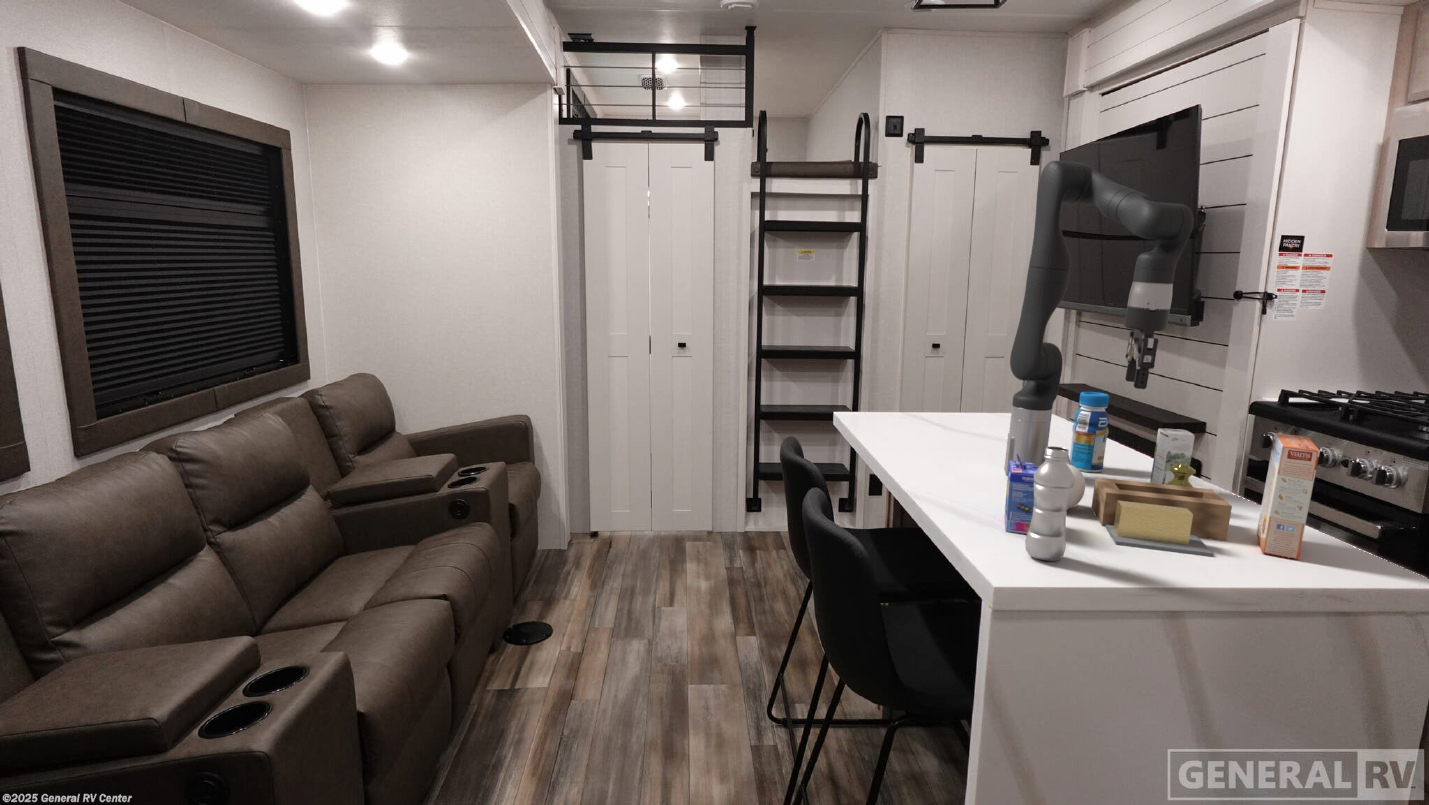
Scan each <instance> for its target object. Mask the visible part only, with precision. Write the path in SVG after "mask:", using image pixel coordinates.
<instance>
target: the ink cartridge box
mask: <svg viewBox="0 0 1429 805" xmlns="http://www.w3.org/2000/svg"><path fill="white" fill-rule="evenodd" d="M1016 456H1017V459H1018V461H1009V469H1008V475H1007V481H1006V491H1005V492H1006V494H1005V504H1004V505H1005V506H1004V530H1005V532H1009V533H1016V534H1022V535H1024V534H1025V535H1027V533H1028V530H1029V528H1030V524H1031V519H1032V515H1033V507H1034V474H1035V472H1036V470H1037V466H1036V464H1035V463H1029V462H1021V460H1020V457H1019V455H1018V454H1017V453H1016Z"/></svg>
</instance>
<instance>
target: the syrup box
mask: <svg viewBox="0 0 1429 805" xmlns="http://www.w3.org/2000/svg"><path fill="white" fill-rule="evenodd" d="M1156 436H1157V437H1156V442H1155V449H1154V456H1153V461H1152V469H1151V473H1150V474H1151V475H1150V481H1149V483H1157V484H1166V483H1168V482H1169V481H1171V480H1172V479H1173V478H1174V474H1173V473H1172V472H1171V471H1170V470H1169V468H1170V467H1171V466H1174V465H1178V464H1180V463H1182V464H1187V465H1188V466H1189V467H1191V460H1192V454H1193V450H1194V449H1193V448H1194V443H1195V438H1196V437H1195V434H1194V433H1192V432H1190V431H1189V430H1186V429H1178V428H1177V429H1174V428H1158V430H1157V435H1156Z"/></svg>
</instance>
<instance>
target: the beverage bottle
mask: <svg viewBox="0 0 1429 805" xmlns="http://www.w3.org/2000/svg"><path fill="white" fill-rule="evenodd" d="M1109 401H1110V395H1109V394H1108V393H1103V392H1098V391H1097V392H1096V391H1095V392H1094V391H1082V392H1080V395H1079V406H1081V407H1080V408H1079V409H1078V410H1077V411H1076V413H1075V415H1074V417H1073V419H1074V423H1073V425H1072V427H1071V428H1072V429H1071V431H1072V436H1071V437H1072V438H1071V445H1070V451H1069V454H1070V455H1069V459H1070V463H1071V465H1073V466H1075V467H1076V468H1078V469H1079V470H1080V472H1084V473H1101V472H1102V471H1103V470H1104V460H1105V454H1106V445H1107V440H1108V435H1109V427H1108V425H1109V424H1110V418H1109V415H1108V413H1107V411H1106V409H1108V406H1109Z"/></svg>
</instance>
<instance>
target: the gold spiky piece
mask: <svg viewBox="0 0 1429 805" xmlns="http://www.w3.org/2000/svg"><path fill="white" fill-rule="evenodd" d="M1169 470H1170V471H1171V472H1172V473H1173V474H1174V478H1173V479H1172V480H1171V481H1169V482H1168V483H1166V485H1176V486H1186V487H1193V484H1192V483H1191V482H1190V480H1189V478H1190V477H1192V476H1193V475H1195V474H1196V473H1197V472H1196V469H1194V468H1193V467H1192V466H1190V467H1189V466H1188V465H1187V464H1182V463H1180V464H1178V465H1174V466H1171V467H1170V468H1169Z"/></svg>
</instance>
